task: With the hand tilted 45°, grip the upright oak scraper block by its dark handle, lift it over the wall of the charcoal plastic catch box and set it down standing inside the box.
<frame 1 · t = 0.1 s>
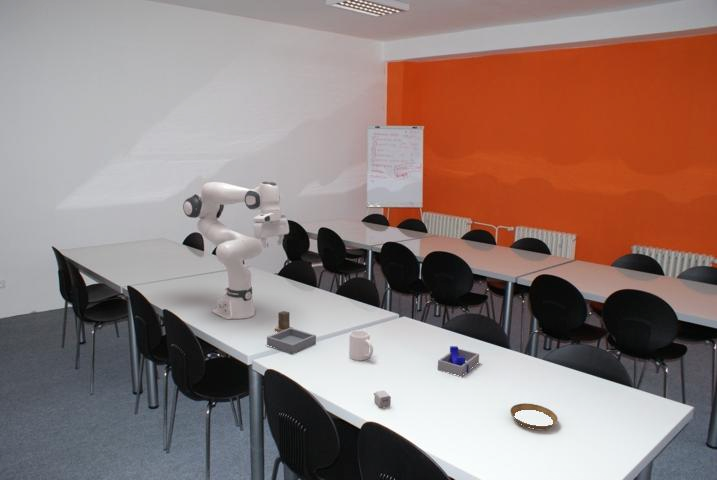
hand: (273, 245, 252), 39 cm above the table, tool pointing down, fingers open, 8 cm apart
usb wall charger: (380, 403, 185), on the table
catch box: (291, 344, 235), on the table
mug: (362, 358, 222), on the table
brown ring: (532, 422, 176), on the table
oak scraper block: (283, 331, 251), on the table
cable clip: (458, 366, 217), resting in desk organiser frame
desk organiser frame: (458, 366, 217), on the table
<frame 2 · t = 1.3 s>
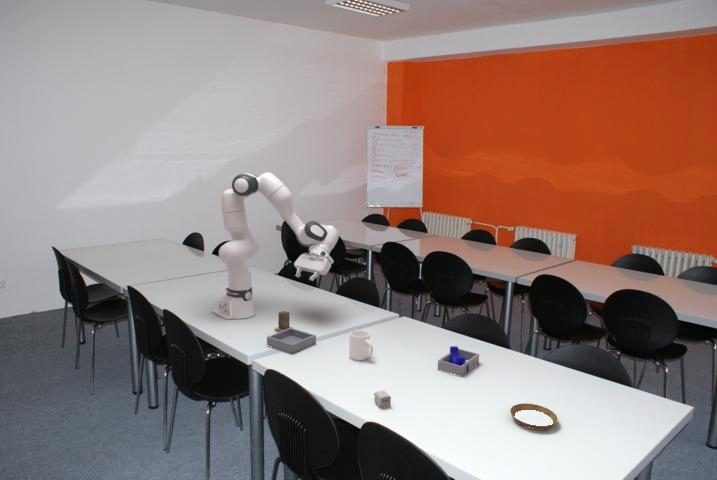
hand: (303, 278, 256), 23 cm above the table, tool tilted 45°, fingers open, 8 cm apart
nothing on the table moved.
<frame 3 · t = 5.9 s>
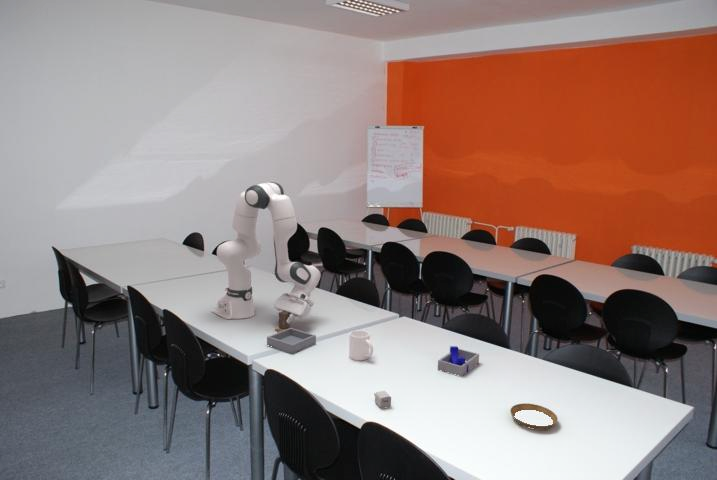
hand: (282, 321, 250), 5 cm above the table, tool tilted 45°, fingers closed on oak scraper block, 4 cm apart
oak scraper block: (284, 330, 251), on the table, touching gripper
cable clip: (458, 366, 217), resting in desk organiser frame
everything else where it was.
when the fingers open (7 cm above the table, at t = 11.5 s): oak scraper block drops 1 cm, resting on catch box.
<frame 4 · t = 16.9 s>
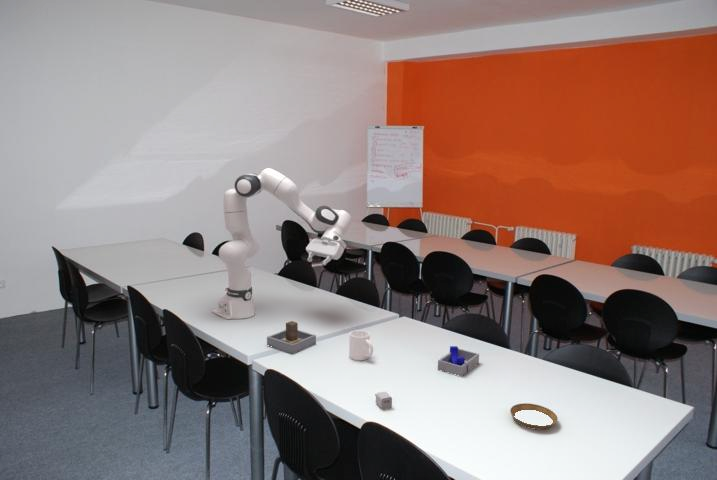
hand: (316, 262, 253), 31 cm above the table, tool tilted 45°, fingers open, 8 cm apart
oak scraper block: (291, 342, 235), point 1 cm above the table, touching catch box
everything else where it was.
at the end: oak scraper block inside the target area on the catch box (0.1 cm from its centre), point 1.0 cm above the catch box's base; oak scraper block tilted 0°; the gripper is holding nothing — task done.
